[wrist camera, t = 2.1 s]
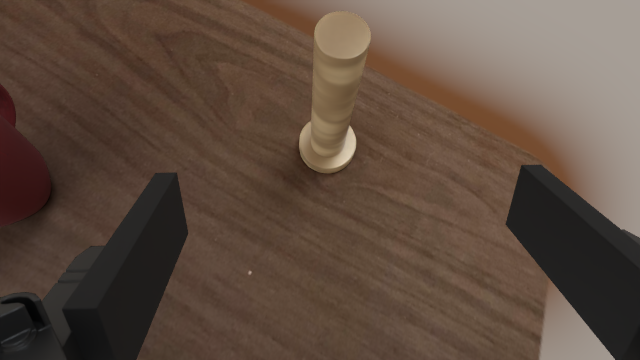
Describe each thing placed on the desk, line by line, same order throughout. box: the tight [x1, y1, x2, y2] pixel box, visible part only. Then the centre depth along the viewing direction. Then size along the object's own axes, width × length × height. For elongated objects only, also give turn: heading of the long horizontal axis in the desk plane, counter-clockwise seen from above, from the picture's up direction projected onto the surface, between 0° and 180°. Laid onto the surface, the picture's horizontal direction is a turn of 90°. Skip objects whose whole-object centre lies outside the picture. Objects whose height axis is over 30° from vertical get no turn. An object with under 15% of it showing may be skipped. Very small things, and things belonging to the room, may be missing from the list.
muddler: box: [299, 11, 371, 173], centre depth 25 cm, size 4×4×14 cm
